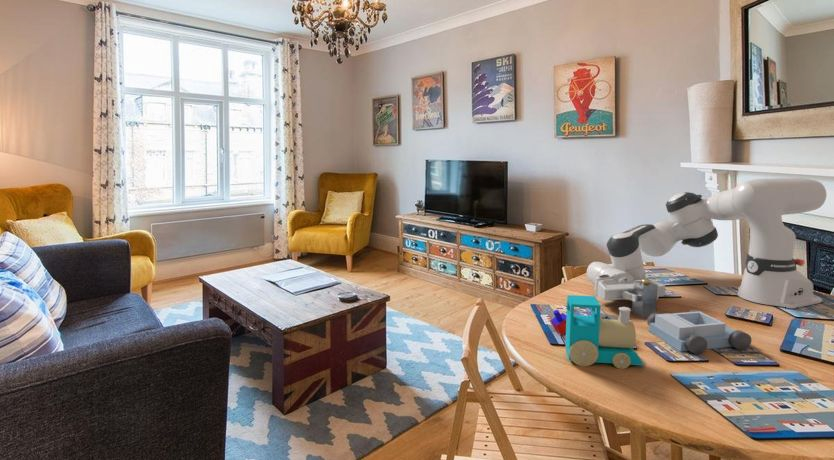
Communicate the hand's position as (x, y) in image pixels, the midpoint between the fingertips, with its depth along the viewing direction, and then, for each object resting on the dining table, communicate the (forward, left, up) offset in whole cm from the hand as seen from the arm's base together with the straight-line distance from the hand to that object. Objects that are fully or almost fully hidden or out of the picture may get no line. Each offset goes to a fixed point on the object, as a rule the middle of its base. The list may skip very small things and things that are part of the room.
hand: (646, 298), depth 128 cm
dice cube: (+18, +10, -6) cm, 22 cm away
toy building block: (+29, +6, -6) cm, 30 cm away
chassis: (-3, +16, -6) cm, 17 cm away
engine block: (0, -1, -6) cm, 6 cm away
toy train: (+27, +22, -6) cm, 35 cm away
